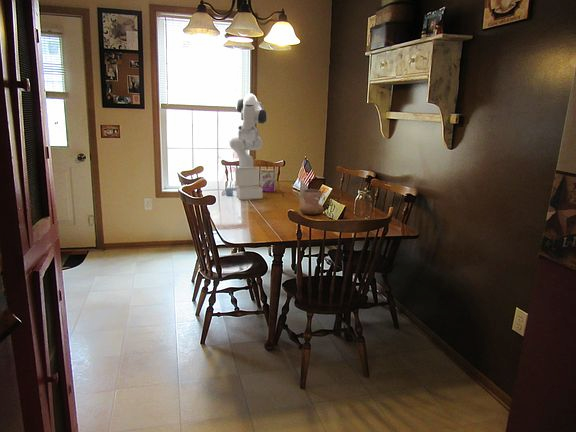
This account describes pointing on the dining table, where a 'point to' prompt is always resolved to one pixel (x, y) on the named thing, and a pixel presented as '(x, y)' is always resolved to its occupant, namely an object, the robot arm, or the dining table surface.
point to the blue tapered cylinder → (229, 191)
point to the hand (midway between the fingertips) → (248, 146)
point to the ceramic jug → (311, 202)
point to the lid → (247, 176)
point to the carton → (249, 192)
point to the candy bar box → (267, 180)
